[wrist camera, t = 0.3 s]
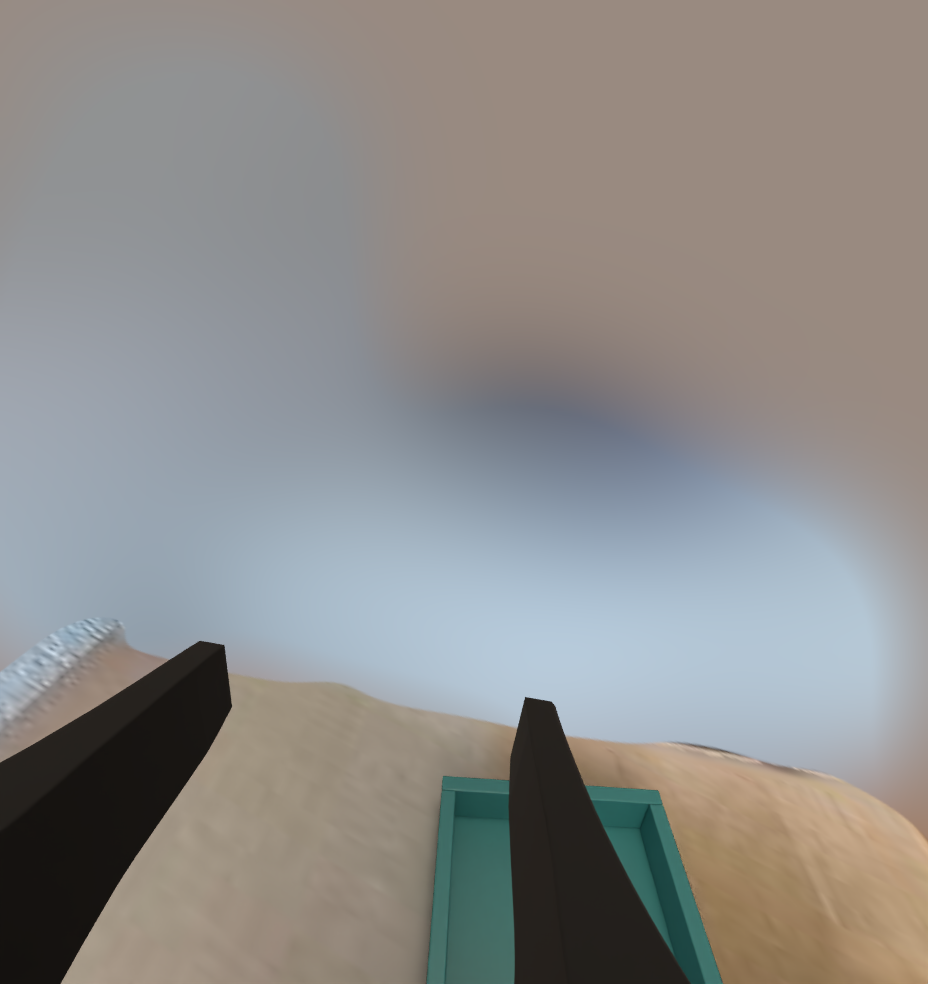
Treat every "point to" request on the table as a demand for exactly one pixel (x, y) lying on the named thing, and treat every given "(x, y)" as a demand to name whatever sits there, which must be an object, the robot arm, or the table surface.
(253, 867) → the table surface
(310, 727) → the table surface
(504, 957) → the teal square tray
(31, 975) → the robot arm
